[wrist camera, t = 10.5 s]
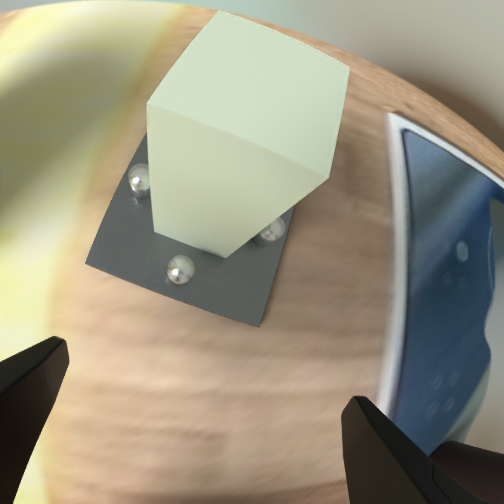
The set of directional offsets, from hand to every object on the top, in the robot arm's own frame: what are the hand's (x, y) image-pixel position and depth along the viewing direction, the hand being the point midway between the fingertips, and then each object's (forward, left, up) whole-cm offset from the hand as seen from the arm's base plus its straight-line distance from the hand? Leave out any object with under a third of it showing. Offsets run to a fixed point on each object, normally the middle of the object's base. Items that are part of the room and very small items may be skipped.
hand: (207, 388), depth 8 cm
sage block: (+3, +8, -9) cm, 12 cm away
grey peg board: (+3, +8, -10) cm, 13 cm away
